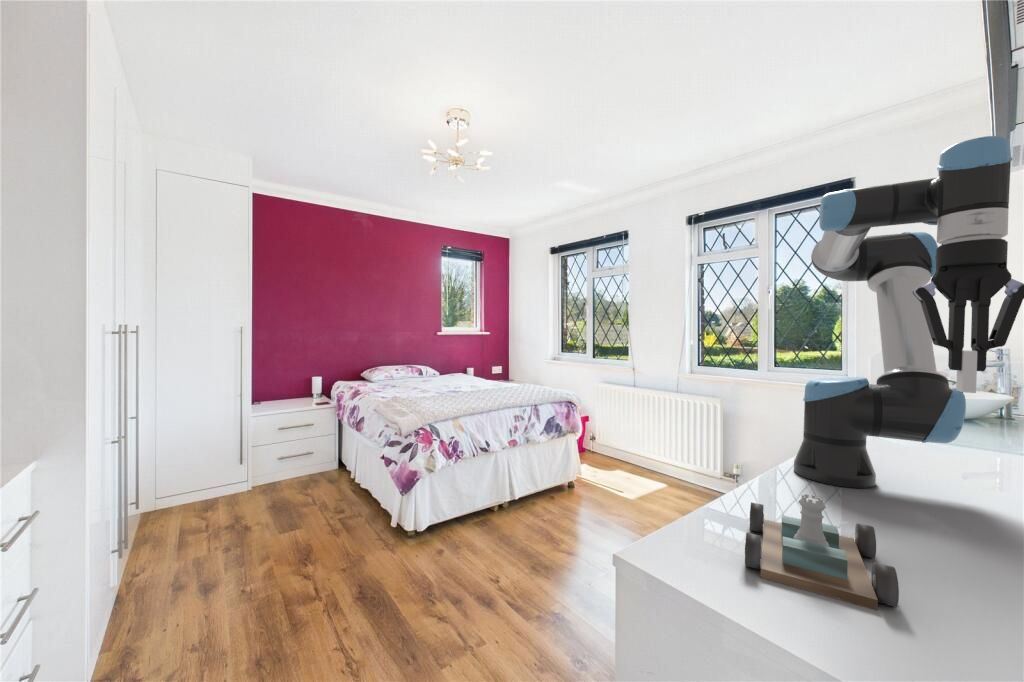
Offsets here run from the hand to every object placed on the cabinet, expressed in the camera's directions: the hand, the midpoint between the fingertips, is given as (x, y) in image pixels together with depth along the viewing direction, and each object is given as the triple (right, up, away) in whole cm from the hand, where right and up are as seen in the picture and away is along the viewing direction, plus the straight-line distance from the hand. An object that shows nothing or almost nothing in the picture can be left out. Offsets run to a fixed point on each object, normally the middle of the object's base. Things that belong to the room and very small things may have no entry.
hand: (965, 391), depth 65 cm
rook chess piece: (-28, -23, -5) cm, 37 cm away
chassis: (-28, -24, -5) cm, 37 cm away
